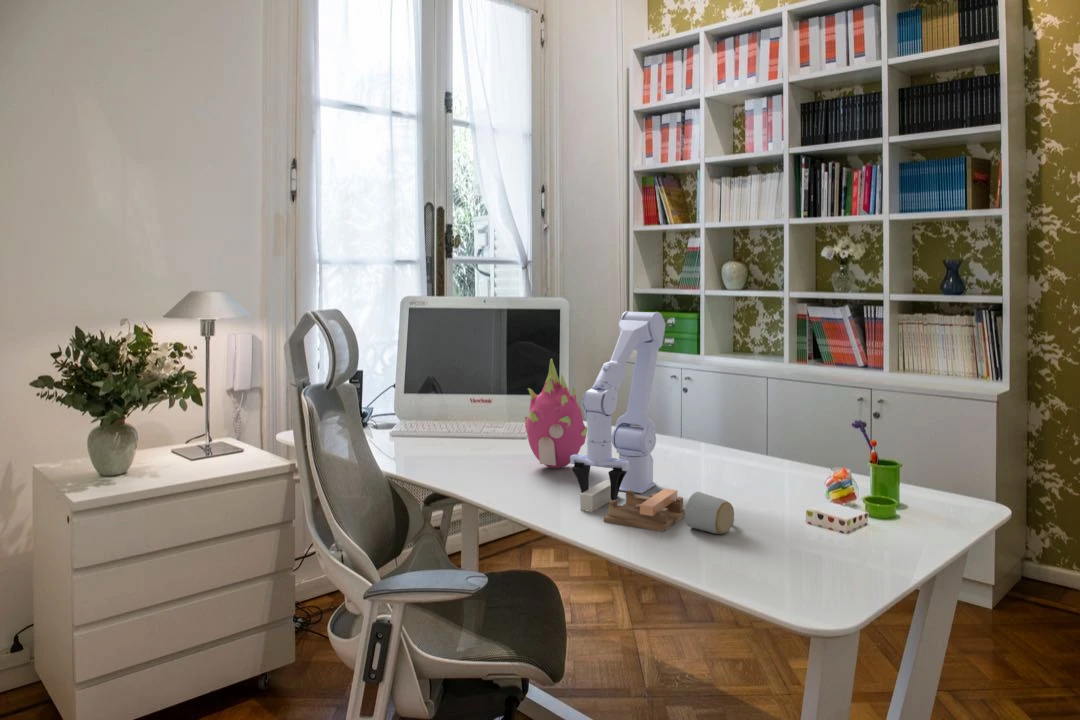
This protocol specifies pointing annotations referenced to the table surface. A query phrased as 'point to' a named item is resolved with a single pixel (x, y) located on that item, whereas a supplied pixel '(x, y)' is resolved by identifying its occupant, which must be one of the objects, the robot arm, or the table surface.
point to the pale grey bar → (596, 496)
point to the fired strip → (658, 502)
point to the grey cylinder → (709, 513)
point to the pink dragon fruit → (555, 422)
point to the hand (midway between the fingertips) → (599, 496)
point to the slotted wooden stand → (632, 516)
